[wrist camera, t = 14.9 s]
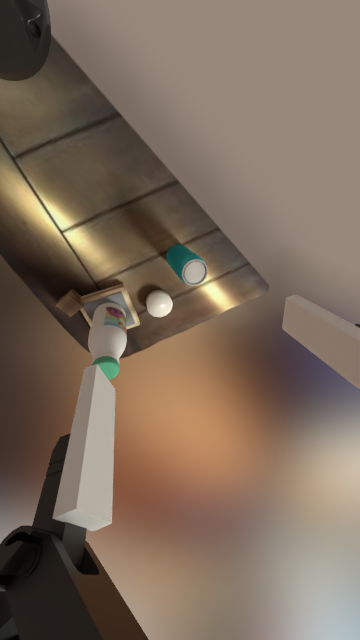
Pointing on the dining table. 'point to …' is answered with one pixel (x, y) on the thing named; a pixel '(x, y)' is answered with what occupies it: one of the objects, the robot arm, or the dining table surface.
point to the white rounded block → (158, 303)
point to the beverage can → (186, 264)
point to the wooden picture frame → (110, 296)
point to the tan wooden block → (70, 302)
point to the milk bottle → (108, 337)
